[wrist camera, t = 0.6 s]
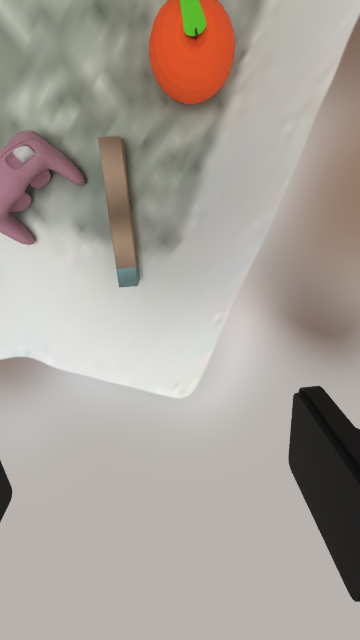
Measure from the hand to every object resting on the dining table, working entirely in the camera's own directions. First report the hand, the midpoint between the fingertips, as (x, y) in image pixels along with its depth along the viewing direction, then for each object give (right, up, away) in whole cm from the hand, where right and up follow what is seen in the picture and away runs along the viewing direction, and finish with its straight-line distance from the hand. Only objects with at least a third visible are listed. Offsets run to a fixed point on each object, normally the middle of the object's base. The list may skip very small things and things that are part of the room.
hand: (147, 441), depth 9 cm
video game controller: (-14, +17, +22) cm, 31 cm away
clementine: (+2, +27, +19) cm, 33 cm away
